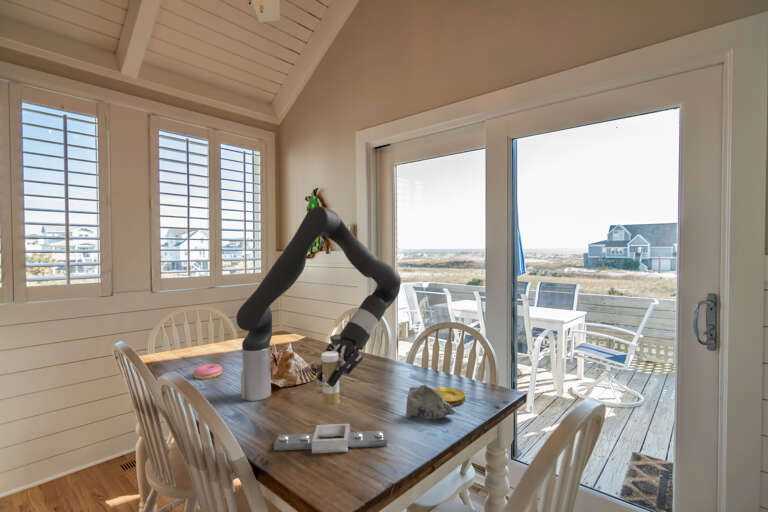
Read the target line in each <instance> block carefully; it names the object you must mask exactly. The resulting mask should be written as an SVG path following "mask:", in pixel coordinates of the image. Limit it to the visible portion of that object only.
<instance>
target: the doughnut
mask: <svg viewBox="0 0 768 512" xmlns="http://www.w3.org/2000/svg"><path fill="white" fill-rule="evenodd" d="M222 373H223V367H222V365H220V364H219V363H208V364H202V365H199V366H198V367H196V368H195V369H194V370H193V375H194V377H195V379H198V380H199V379H200V380H207V379H206V378H210V379H213V378H212V377H214V378H216V376H217V377H218V375H219V376H220V375H221V374H222Z"/></svg>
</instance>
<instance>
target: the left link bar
mask: <svg viewBox="0 0 768 512" xmlns="http://www.w3.org/2000/svg"><path fill="white" fill-rule="evenodd" d="M314 433H315V432H314ZM314 433H294V434H293V433H292V434H291V433H290V434H278V435H277V438H276V440H275V441H274V443H273V452H274V451H276V450H278V451H298V450H312V439H313V436H314Z"/></svg>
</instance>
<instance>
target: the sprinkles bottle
mask: <svg viewBox="0 0 768 512" xmlns="http://www.w3.org/2000/svg"><path fill="white" fill-rule="evenodd" d="M320 357H321V358H320V359H321V361H322V362H321V365H322V367H321V369H323V370H322V371H323V375H322V382H321V383H322V404H323V406H325V407H335V406H337V405H339V404H340V403H341V400H340V379H339V380H338V381H337V383H336V384H335V385H334V387H331V386H330V385H328V384H327V381H328V379H329V377H330V376H331V374H332V373H333V371H334V370H336V367H337V364H338V359H339V353H338V352H336V351H327V352H321V355H320Z"/></svg>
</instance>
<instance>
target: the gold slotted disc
mask: <svg viewBox="0 0 768 512" xmlns="http://www.w3.org/2000/svg"><path fill="white" fill-rule="evenodd" d="M432 389H433V390H435V391H437V392H438V393H439V394H440V395H441V396H442V398H443V400H444V402H446V403H448V404H450V405H451V406H456V405H460V404H461V405H463V404H465V403H464V402H466V394H465V392H464V391H463V390H461V389H458V388H455V387H447V386H446V387H445V386H444V387H436V388H432Z"/></svg>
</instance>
